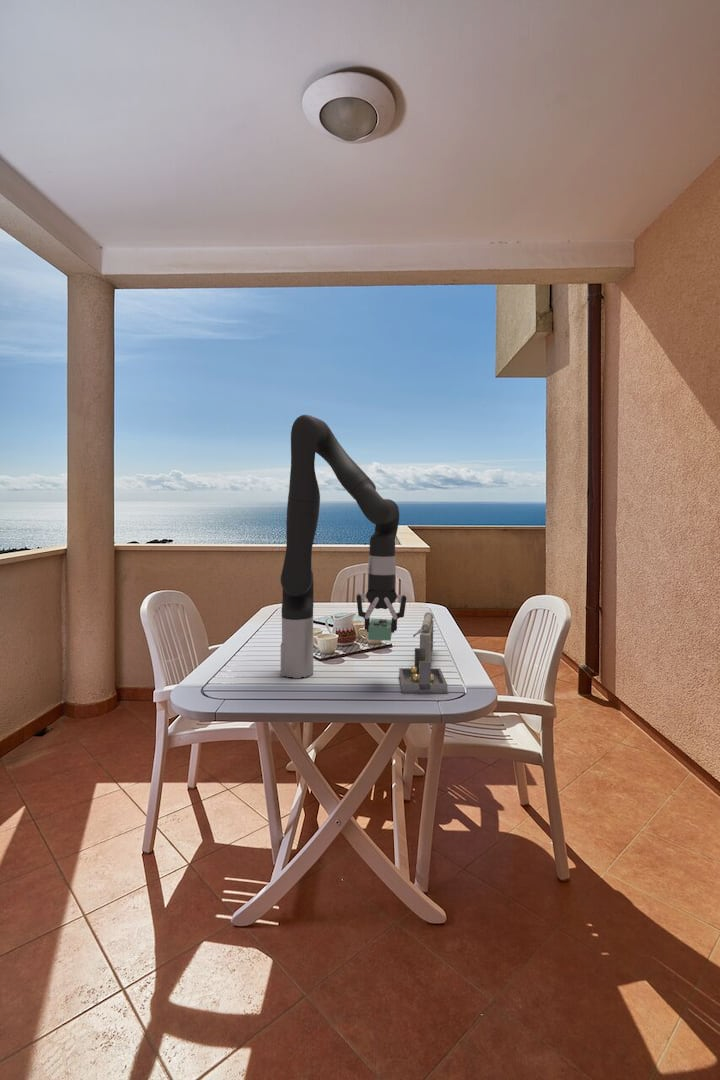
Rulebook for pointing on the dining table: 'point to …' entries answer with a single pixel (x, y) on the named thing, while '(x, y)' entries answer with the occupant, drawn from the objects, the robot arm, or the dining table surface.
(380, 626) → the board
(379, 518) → the robot arm
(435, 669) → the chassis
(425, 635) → the grey upright lever device
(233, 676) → the dining table surface
